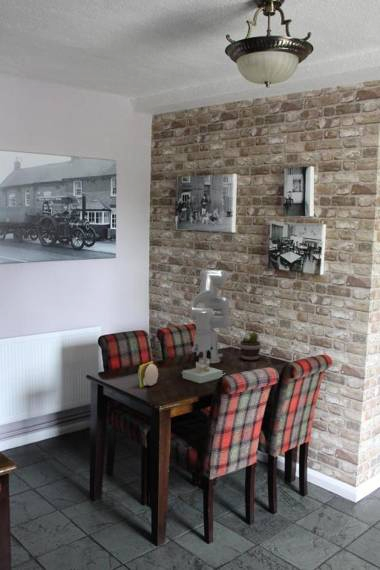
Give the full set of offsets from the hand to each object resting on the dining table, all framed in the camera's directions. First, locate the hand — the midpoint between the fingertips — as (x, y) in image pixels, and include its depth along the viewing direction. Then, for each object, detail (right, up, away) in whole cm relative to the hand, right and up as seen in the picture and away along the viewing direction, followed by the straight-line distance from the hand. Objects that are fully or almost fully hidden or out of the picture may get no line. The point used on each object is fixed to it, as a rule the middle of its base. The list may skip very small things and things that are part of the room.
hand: (202, 360), depth 328 cm
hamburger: (-31, -12, -14) cm, 36 cm away
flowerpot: (+32, -5, +43) cm, 54 cm away
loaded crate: (0, -6, 0) cm, 6 cm away
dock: (0, -10, 0) cm, 10 cm away
